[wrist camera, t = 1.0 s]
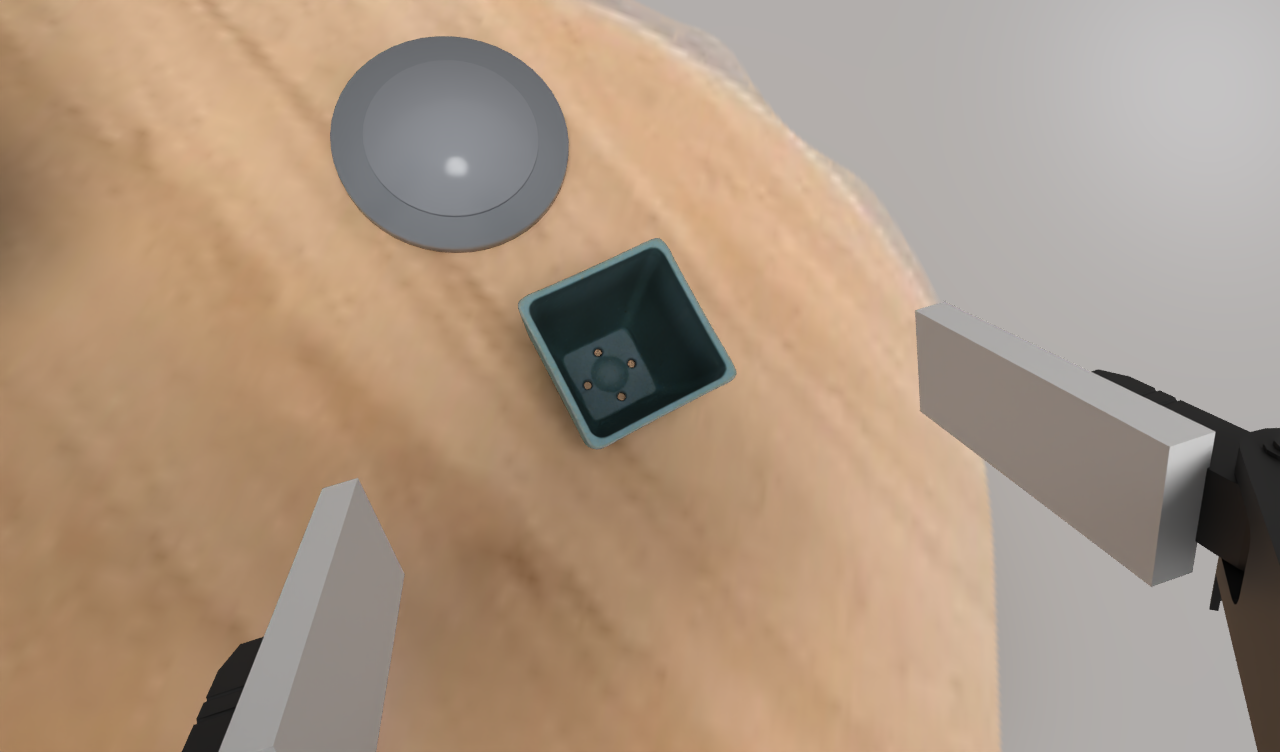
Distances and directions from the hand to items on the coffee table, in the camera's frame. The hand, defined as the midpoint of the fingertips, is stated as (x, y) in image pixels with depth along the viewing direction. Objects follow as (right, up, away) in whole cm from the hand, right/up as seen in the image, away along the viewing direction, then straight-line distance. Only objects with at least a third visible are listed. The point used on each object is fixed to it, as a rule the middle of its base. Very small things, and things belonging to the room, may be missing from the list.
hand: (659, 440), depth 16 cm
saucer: (-13, +17, +30) cm, 37 cm away
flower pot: (-3, +2, +29) cm, 29 cm away
